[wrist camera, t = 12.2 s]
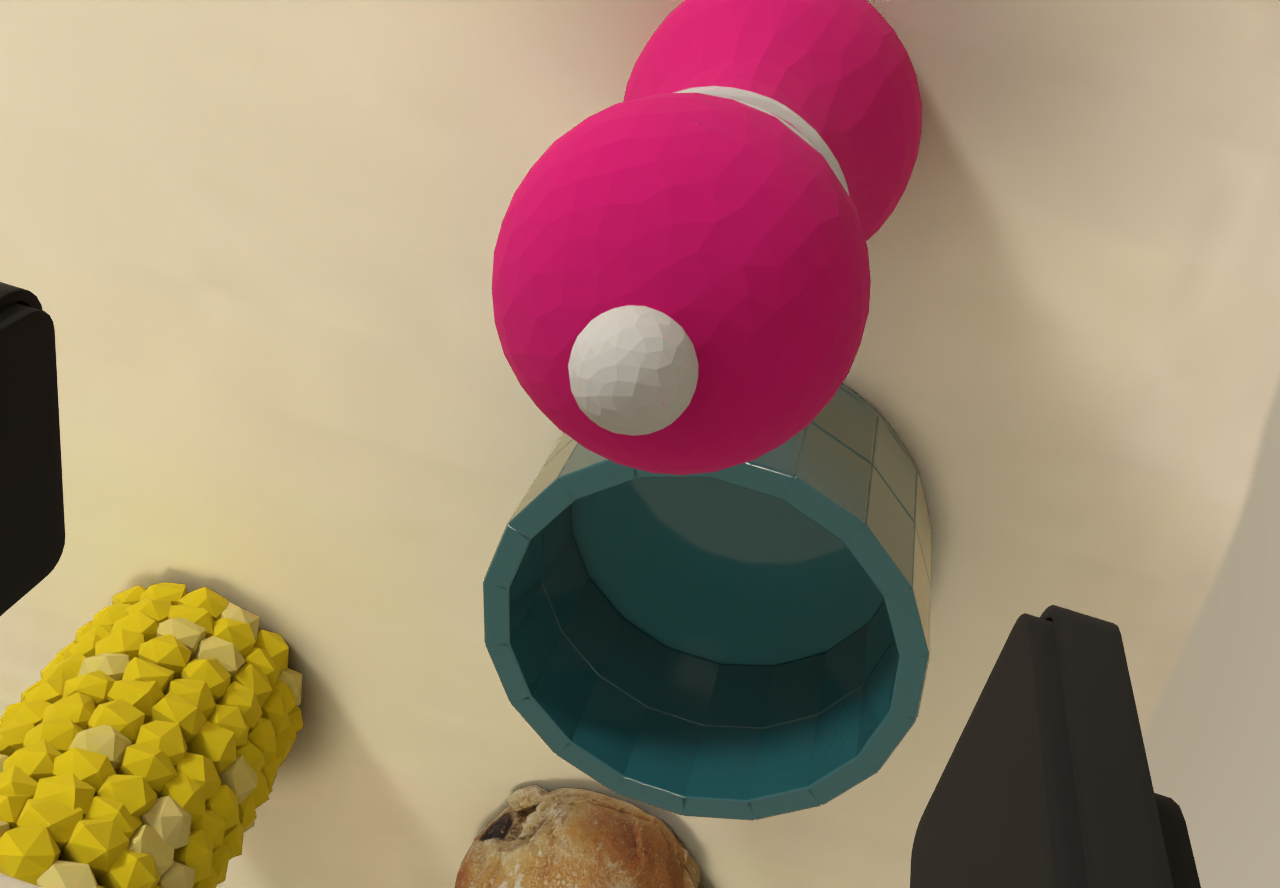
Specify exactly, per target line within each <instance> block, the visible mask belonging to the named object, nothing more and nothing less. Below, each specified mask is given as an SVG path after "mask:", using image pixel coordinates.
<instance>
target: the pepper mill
mask: <svg viewBox="0 0 1280 888" xmlns="http://www.w3.org/2000/svg"><path fill="white" fill-rule="evenodd" d="M921 123H922V103H921V98H920V93H919V88H918V83H917V78H916V74H915V71H914V69H913V66H912V64H911V61H910V58H909V56H908V53H907V51H906V49H905V48H904V46H903V44H902V43H901V41H900V39H899V38H898V36H897V34H896V33H895V31H894V30H893V28H892V27H891V26H890V25H889V24H888V23H887V21H886V20H885V19H884V18H883V17H882V16H881V14H880V13H879V12H878V11H877V10H876V9H875V8H874V7H873V6H872V5H871V4H869V3H868V2H867V1H866V0H685V1H684V2H683V3H682V4H680V5H679V6H678V7H677V8H676V9H675V10H674V11H672V12H671V13H670V14H669V15H668V16H667V18H666V19H665V20H664V21H663V23H662V24H661V25H660V26H659V28H658V29H657V30H656V31H655V33H654V34H653V35H652V37H651V38H650V40H649V41H648V43H647V45H646V46H645V48H644V50H643V51H642V53H641V55H640V56H639V58H638V60H637V61H636V63H635V66H634V68H633V71H632V73H631V76H630V78H629V81H628V83H627V87H626V92H625V96H624V101H623V102H622V103H618V104H615V105H613V106H611V107H609V108H607V109H605V110H603V111H601V112H599V113H597V114H594V115H592V116H590V117H588V118H587V119H585V120H584V121H583V122H581V123H580V124H578V125H577V126H576V127H574V128H573V129H571V130H570V131H569V132H567V133H566V134H564V135H563V136H562V137H560V138H559V139H557V140H556V141H555V142H554V143H553V144H552V145H551V146H550V147H549V148H548V150H547V151H546V152H545V153H544V154H543V155H542V156H541V158H540V159H539V160H538V161H537V162H536V163H535V164H534V165H533V167H532V168H531V169H530V171H529V172H528V174H527V175H526V177H525V178H524V180H523V181H522V183H521V184H520V186H519V187H518V189H517V190H516V192H515V193H514V196H513V198H512V200H511V203H510V205H509V207H508V210H507V212H506V215H505V217H504V219H503V222H502V225H501V229H500V233H499V236H498V240H497V244H496V247H495V251H494V263H493V278H492V296H493V306H494V317H495V325H496V328H497V331H498V335H499V338H500V342H501V345H502V348H503V352H504V355H505V357H506V358H507V360H508V362H509V364H510V366H511V368H512V370H513V372H514V373H515V375H516V377H517V379H518V381H519V383H520V385H521V386H522V387H523V389H524V390H525V391H526V393H527V394H528V395H529V396H530V398H531V399H532V400H533V402H534V403H535V404H536V406H537V407H538V408H539V409H540V410H541V411H542V412H543V413H544V414H545V415H546V416H547V417H548V418H549V419H550V420H551V421H552V422H553V423H554V424H555V425H556V426H557V427H558V428H559V429H560V430H561V431H563V432H564V433H566V434H567V435H568V436H570V437H571V438H572V439H574V440H575V441H576V442H578V443H579V444H580V445H582V446H583V447H584V448H586V449H588V450H590V451H592V452H594V453H596V454H598V455H600V456H602V457H604V458H606V459H609V460H611V461H613V462H615V463H617V464H620V465H624V466H628V467H632V468H636V469H639V470H643V471H647V472H651V473H660V474H675V475H689V474H699V473H710V472H716V471H719V470H723V469H726V468H729V467H732V466H736V465H739V464H742V463H745V462H749V461H752V460H754V459H756V458H758V457H760V456H762V455H764V454H766V453H768V452H769V451H771V450H773V449H775V448H777V447H779V446H780V445H782V444H784V443H785V442H786V441H788V440H789V439H790V438H792V437H793V436H794V435H796V434H797V433H798V432H800V431H801V430H802V429H804V428H805V427H806V426H808V425H809V424H810V423H811V422H812V421H813V419H814V418H815V417H816V416H817V415H818V414H819V413H820V412H821V410H822V409H823V408H824V407H825V406H826V405H827V404H828V403H829V401H830V400H831V399H832V398H833V396H834V395H835V393H836V392H837V390H838V389H839V387H840V385H841V384H842V382H843V381H844V379H845V378H846V376H847V375H848V373H849V371H850V368H851V366H852V363H853V361H854V358H855V356H856V353H857V351H858V348H859V346H860V343H861V339H862V335H863V332H864V328H865V324H866V320H867V316H868V313H869V299H870V282H871V281H870V270H869V258H868V248H867V244H866V241H867V240H868V239H869V238H870V237H871V236H872V235H873V234H875V233H876V232H877V231H878V230H879V229H880V227H881V226H882V225H883V224H884V222H885V221H886V220H887V218H888V217H889V216H890V215H891V213H892V212H893V211H894V209H895V207H896V205H897V203H898V202H899V200H900V198H901V196H902V194H903V193H904V191H905V188H906V186H907V184H908V181H909V179H910V176H911V173H912V170H913V167H914V164H915V161H916V159H917V155H918V149H919V144H920V138H921Z"/></svg>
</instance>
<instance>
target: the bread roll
mask: <svg viewBox="0 0 1280 888" xmlns="http://www.w3.org/2000/svg"><path fill="white" fill-rule="evenodd" d="M505 800H506V801H507V802H508V803H509V804H510V806H509V807H508V808H506V809H504V810H503V811H502V812H501V813H500V814H499V815H498V816H497V817H496V818H495V819H494V820H493V821H492V822H491V823H490V824H489V825H488V826H487V827H486V829H485V830H484V831H482V832H481V833H480V835H479V836H477V837H476V838H475V839H474V842H473V844H472V845H471V847H470V848H469V850H468V852H467V854H466V856H465V858H464V859H463V861H462V863H461V866H460V869H459V872H458V875H457V879H456V884H455V888H703V886H702V884H701V883H700V881H699V880H700V877H701V875H700V868H699V866H698V864H697V863H696V862H695V860H694V859H693V858H692V857H691V855H690V854H689V853H688V850H686V849H684V848H683V846H682V845H681V843H680V842H679V840H678V839H677V838H676V837H675V835H674V833H673V831H672V829H671V827H670V826H669V825H668V824H667V823H665V822H664V821H663V820H659V819H658V818H656V817H655V816H650V815H649V814H647V813H646V812H644V811H643V810H641V809H639V808H638V807H636V806H635V805H633V804H632V803H630V802H629V801H622V800H618V799H615V798H613V797H610V796H607V795H604V794H602V793H598V792H594V791H591V790H587V789H576V788H561V789H556V790H553V791H548V790H545V789H542V788H540V787H539V786H538V785H537V784H535V785H531V786H527V787H524V788H520V789H517V790H516V791H515V792H513V793H512V794H511V795H510V796H509V797H508V798H507V799H505Z"/></svg>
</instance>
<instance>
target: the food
mask: <svg viewBox="0 0 1280 888" xmlns="http://www.w3.org/2000/svg"><path fill="white" fill-rule="evenodd" d="M259 619H260V617H258V616H256V615H254V614H252V613H250V612H248V611H246V610H244V609H242V608H240V607H238V606H236V605H234V604H232V603H230V602H228V600H227V599H225V598H224V597H222V596H220V595H219V594H217V593H215V592H213V591H212V590H210V589H208V588H207V587H203V588H200V589H198V590H195V591H192V592H190V593H187V589H186V585H185V584H176V583H167V582H163V583H158V584H154V585H151V586H150V587H149V588H148V589H145V588H143V587H141V586H139V585H138V586H135V587H133V588H131V589H128V590H126V591H124V592H121V593H119V594H117V595H114V596H113V605H108V606H107V607H106V608H104V609H103V610H101V611H100V612H98V613H97V614H95V615H94V618H93V621H90V622H88V623H87V624H85V625H84V626H82V627H81V628H80V629H78V630H77V633H76V637H75V641H73V642H72V643H71V644H69V645H68V646H67V647H65V648H64V649H63V650H61V651H60V652H59V653H57V654H56V657H55V658H54V659H53V660H52V661H51V662H50V663H49V664H48V665H47V666H46V667H45V668H44V669H43V670H42V671H41V680H40V681H38V682H37V683H35V684H34V685H32V686H31V687H29V688H28V689H27V690H26V691H24V692H23V693H22V695H21V702H19V703H15V704H12V705H9V706H7V708H6V710H5V712H4V713H3V715H2V717H1V718H0V873H2V874H5V875H8V876H10V877H13V878H16V879H19V880H22V881H24V882H27V883H30V884H33V885H36V886H39V887H41V888H216V886H217V884H219V883H221V882H223V881H225V878H226V872H227V866H228V860H230V859H231V858H233V857H236V856H239V855H241V854H242V844H243V833H244V832H245V831H247V830H248V829H250V828H251V827H253V826H254V820H255V819H256V818H257V817H256V811H255V809H256V808H257V807H259V806H260V805H261V804H263V803H264V802H266V801H267V800H269V797H268V795H269V794H270V793H271V792H272V785H273V782H274V780H275V777H276V774H277V771H278V768H279V767H280V766H281V764H282V763H283V762H284V760H285V759H286V756H287V755H288V752H290V751H292V744H293V742H294V741H295V740H296V733H297V732H298V731H299V730H301V729H302V728H303V727H304V726H303V720H302V715H301V709H300V708H299V707H298V706H297V705H301V689H302V674H301V673H299V672H297V671H294V670H292V669H290V668H288V652H289V647H288V646H287V644H286V643H285V641H284V640H283V638H282V636H281V635H280V634H277V633H273V632H269V631H266V630H262V629H261V630H260V631H259V632H258V629H259Z"/></svg>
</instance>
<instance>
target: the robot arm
mask: <svg viewBox="0 0 1280 888" xmlns="http://www.w3.org/2000/svg"><path fill="white" fill-rule="evenodd" d="M64 544H65V525H64V505H63V486H62V466H61V447H60V428H59V408H58V389H57V369H56V350H55V330H54V325H53V321H52V319H51V317H50V315H48V314H47V313H46V312H44V311H42V306H41V304H40V302H39V300H38V298H37V296H35V295H34V294H33V293H31V292H30V291H28V290H24V289H21V288H18V287H15V286H11V285H8V284H5V283H2V282H0V616H1V615H2V614H3V613H4V612H6V611H7V610H8V609H9V608H10V607H11V606H13V605H14V604H15V603H16V602H17V601H18V600H20V599H21V598H22V597H23V596H24V595H25V594H27V593H28V592H29V591H30V590H31V589H32V588H34V587H35V586H36V585H37V584H38V583H39V582H41V581H42V580H43V579H44V578H45V577H46V576H47V575H48V574H49V573H50V572H51V571H52V570H53V569H54V567H55V566H56V564H57V563H58V561H59V559H60V557H61V554H62V552H63V548H64ZM0 888H41V887H39V886H36V885H33V884H30V883H27V882H24V881H22V880H19V879H16V878H13V877H10V876H8V875H5V874H2V873H0ZM910 888H1201V886H1200V882H1199V878H1198V874H1197V869H1196V865H1195V860H1194V856H1193V852H1192V848H1191V844H1190V839H1189V835H1188V831H1187V826H1186V822H1185V819H1184V817H1183V814H1182V812H1181V809H1180V807H1179V805H1177V803H1176V802H1174V801H1173V800H1172V799H1171V798H1169V797H1165V796H1162V795H1159V794H1156V793H1154V791H1153V786H1152V781H1151V777H1150V772H1149V767H1148V762H1147V757H1146V753H1145V748H1144V743H1143V738H1142V733H1141V729H1140V724H1139V719H1138V714H1137V709H1136V705H1135V700H1134V695H1133V690H1132V686H1131V681H1130V676H1129V671H1128V666H1127V662H1126V657H1125V652H1124V647H1123V642H1122V638H1121V633H1120V631H1119V628H1118V626H1117V625H1115V624H1113V623H1110V622H1107V621H1104V620H1101V619H1097V618H1094V617H1091V616H1088V615H1084V614H1081V613H1078V612H1075V611H1071V610H1068V609H1065V608H1062V607H1058V606H1055V605H1052V606H1049V607H1048V608H1047V609H1046V610H1045V611H1044V612H1043V613H1042V615H1041V617H1040V618H1038V617H1035V616H1032V615H1029V614H1022V615H1021V616H1020V617H1019V618H1018V620H1017V621H1016V623H1015V625H1014V627H1013V629H1012V631H1011V633H1010V635H1009V637H1008V639H1007V641H1006V643H1005V645H1004V647H1003V649H1002V651H1001V654H1000V656H999V658H998V660H997V662H996V664H995V666H994V668H993V670H992V672H991V674H990V676H989V678H988V680H987V683H986V685H985V687H984V689H983V691H982V693H981V695H980V697H979V699H978V701H977V703H976V705H975V707H974V709H973V712H972V714H971V716H970V718H969V720H968V722H967V724H966V726H965V728H964V730H963V732H962V734H961V736H960V738H959V741H958V743H957V745H956V747H955V749H954V751H953V753H952V755H951V757H950V759H949V761H948V763H947V765H946V767H945V770H944V772H943V774H942V776H941V778H940V780H939V782H938V784H937V786H936V788H935V790H934V792H933V794H932V796H931V799H930V801H929V803H928V805H927V807H926V809H925V811H924V813H923V815H922V817H921V820H920V822H919V825H918V828H917V831H916V835H915V839H914V843H913V849H912V856H911V877H910Z"/></svg>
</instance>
